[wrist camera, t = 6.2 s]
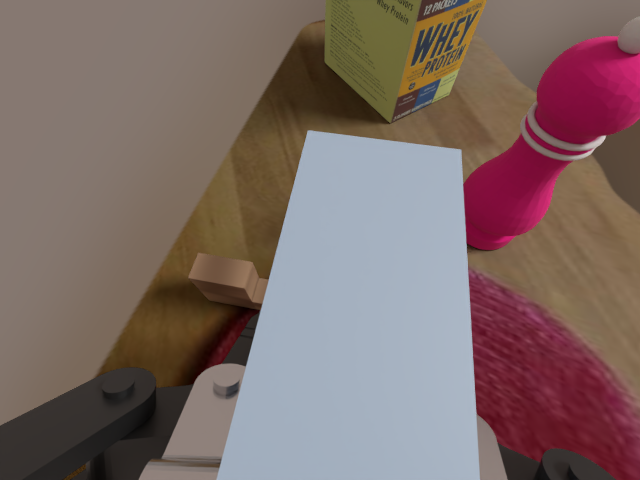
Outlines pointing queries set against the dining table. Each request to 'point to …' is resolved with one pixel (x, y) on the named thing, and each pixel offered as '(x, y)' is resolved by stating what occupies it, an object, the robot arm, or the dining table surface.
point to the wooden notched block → (228, 281)
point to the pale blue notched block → (363, 324)
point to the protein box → (399, 49)
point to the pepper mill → (555, 135)
